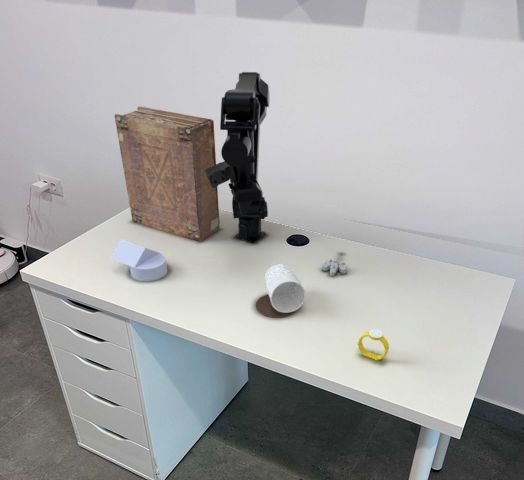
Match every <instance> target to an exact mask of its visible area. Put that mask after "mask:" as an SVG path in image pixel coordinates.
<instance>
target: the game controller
mask: <svg viewBox="0 0 524 480" xmlns="http://www.w3.org/2000/svg"><path fill="white" fill-rule="evenodd" d="M341 255H343V252H340V254H339V257H337V259H336V260H335V259H332V258H330V259H327V260H325V261H324V263H323V264H322V270H323V271H325V272H326V271H328V270H329V276H330V277H334V276H335V275H336V273H338V271H339V272H340V274H343V275H344V274H345V273H346V271H347V264H346V262H343V261H340V258H341Z"/></svg>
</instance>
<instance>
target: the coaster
mask: <svg viewBox="0 0 524 480" xmlns="http://www.w3.org/2000/svg"><path fill="white" fill-rule="evenodd" d="M255 310H256V311H257V312H258V313H259V314H261V315H263V316H265V317H268V318H275V319H279V318H286V317H289V316H292V315H294V314H295V313H296V311H297V310H295V311H293V312H289V313H282V312H279V311H277V310H276V309H275V308H274V307H273V306H272V304H271V301H270V298H269V295H268V294H264V295H263V296H261V297H259V298H258V299H257V300H256V302H255Z"/></svg>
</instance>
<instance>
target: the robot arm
mask: <svg viewBox="0 0 524 480" xmlns="http://www.w3.org/2000/svg"><path fill="white" fill-rule="evenodd" d="M269 87H270V86H269V84H267V83H266V81H264V80H263V79H262V77H261V73H259V72H258V71H242V72H239V73H238V81H237V82H236V84H235V88H233V89H227V91H225V93H224V96H222V97H221V102H220V103H221V104H220V105H221V106H220V123H219V124H220V125H219V129H220V131H227V134H226V138H225V141H224V143H223V145H222V146H221V150H220V155H221V158H222V160H223V161H220V162H218V163H216V165H214V166H212V167H209V168H207V169H206V170H205V172H206V176H207V178H208V180H209V182H210V184H211V187H212V188H215V187H217V188H218V187H219V185H222V184H224V183H226V182H229V183H227V184H228V187H229V190H230V193H231V195H232V198H231V199H232V201H231V207H232V208H231V209H232V217H233V219H238V233H236V234H234V238H235V239H238V240H241V241H244V242H248V243H251V244H255V243H256V242H258V241H259V240H261V239H262V238H264V237H265V236H267V233H266V232H265V231H262V220H265V218H268V217H269V209H268V202H267V201H266V198H265V196H264V192H263V190H262V187H261V186H260V184H259V182H258V181H259V179H258V178H259V159H260V157H259V156H260V155H259V154H260V137H261V136H260V135H261V125H262V123H263V121H264V120H265V119H266V117H267V112H268V111H267V108H269V107H270V88H269Z"/></svg>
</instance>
